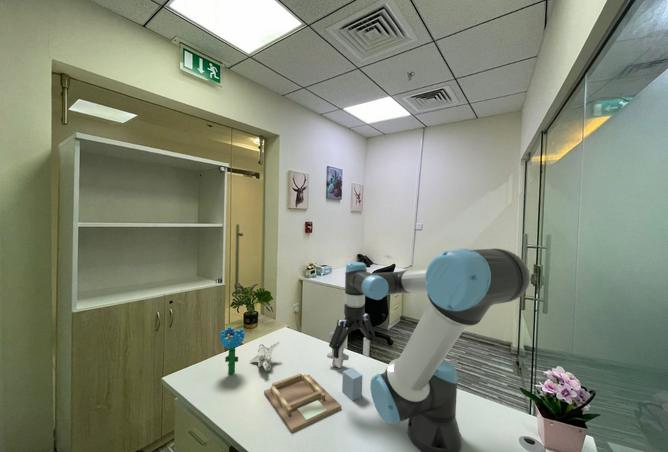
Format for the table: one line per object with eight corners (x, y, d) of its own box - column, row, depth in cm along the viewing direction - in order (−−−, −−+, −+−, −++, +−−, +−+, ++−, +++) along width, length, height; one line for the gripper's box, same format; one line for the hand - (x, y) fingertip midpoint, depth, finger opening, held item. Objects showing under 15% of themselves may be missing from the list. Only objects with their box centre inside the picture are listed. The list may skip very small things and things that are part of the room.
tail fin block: (361, 396, 99) (362, 375, 98) (352, 401, 96) (353, 379, 96) (351, 388, 103) (352, 367, 103) (342, 392, 101) (342, 371, 101)
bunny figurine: (349, 365, 120) (350, 332, 119) (347, 371, 115) (348, 337, 114) (328, 362, 122) (329, 329, 121) (325, 368, 117) (326, 334, 116)
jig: (341, 409, 92) (341, 400, 92) (291, 433, 81) (291, 423, 81) (308, 377, 110) (309, 370, 110) (264, 393, 99) (264, 385, 99)
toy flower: (234, 381, 105) (235, 336, 105) (214, 377, 108) (215, 333, 108) (247, 369, 114) (248, 327, 114) (229, 365, 117) (230, 324, 116)
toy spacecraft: (274, 334, 123) (245, 353, 120) (276, 351, 108) (242, 374, 106) (283, 347, 125) (254, 367, 122) (286, 366, 110) (253, 389, 107)
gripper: (372, 296, 109) (370, 347, 110) (320, 306, 95) (318, 365, 96) (385, 301, 103) (383, 355, 104) (333, 313, 89) (330, 376, 89)
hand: (352, 360), depth 100 cm, fingers open, 13 cm apart
